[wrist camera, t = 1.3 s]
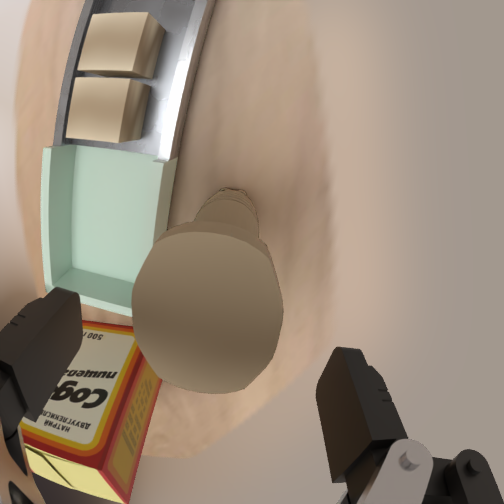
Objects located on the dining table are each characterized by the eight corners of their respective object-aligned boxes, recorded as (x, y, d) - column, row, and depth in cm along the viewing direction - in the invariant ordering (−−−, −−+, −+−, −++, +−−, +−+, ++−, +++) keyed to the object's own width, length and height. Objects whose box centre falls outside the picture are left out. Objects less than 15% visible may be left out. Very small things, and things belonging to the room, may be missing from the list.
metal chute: (130, -63, 14) (120, -76, 11) (238, -63, 14) (237, -79, 12) (70, 142, 21) (53, 145, 19) (178, 156, 22) (168, 160, 19)
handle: (269, 169, 22) (299, 244, 9) (257, 250, 25) (262, 399, 11) (204, 161, 22) (129, 222, 8) (196, 242, 25) (139, 382, 11)
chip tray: (70, 142, 21) (43, 147, 17) (178, 156, 22) (163, 163, 18) (67, 271, 26) (45, 291, 22) (159, 294, 26) (147, 320, 23)
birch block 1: (116, 28, 17) (92, 14, 13) (165, 29, 17) (148, 12, 13) (103, 76, 18) (77, 70, 14) (152, 79, 19) (132, 70, 15)
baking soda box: (155, 328, 28) (100, 475, 13) (163, 376, 30) (127, 508, 16) (72, 318, 28) (-6, 433, 13) (86, 364, 30) (31, 474, 16)
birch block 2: (102, 82, 18) (75, 77, 15) (150, 86, 19) (130, 78, 15) (93, 133, 20) (65, 137, 16) (140, 139, 20) (118, 143, 17)
